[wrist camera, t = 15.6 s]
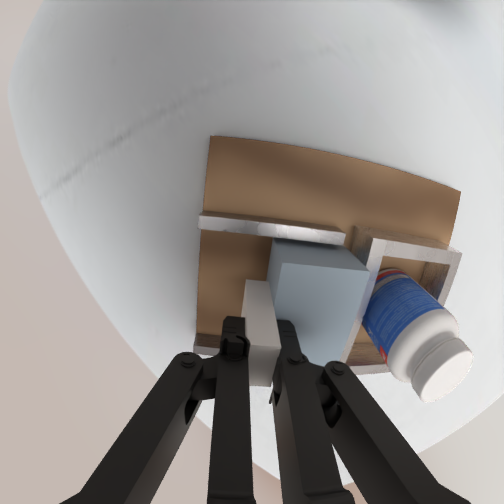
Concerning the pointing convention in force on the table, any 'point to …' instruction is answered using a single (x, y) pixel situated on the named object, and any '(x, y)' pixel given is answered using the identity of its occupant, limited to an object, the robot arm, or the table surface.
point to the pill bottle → (416, 336)
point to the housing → (316, 294)
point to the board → (304, 212)
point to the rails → (261, 227)
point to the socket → (370, 255)
